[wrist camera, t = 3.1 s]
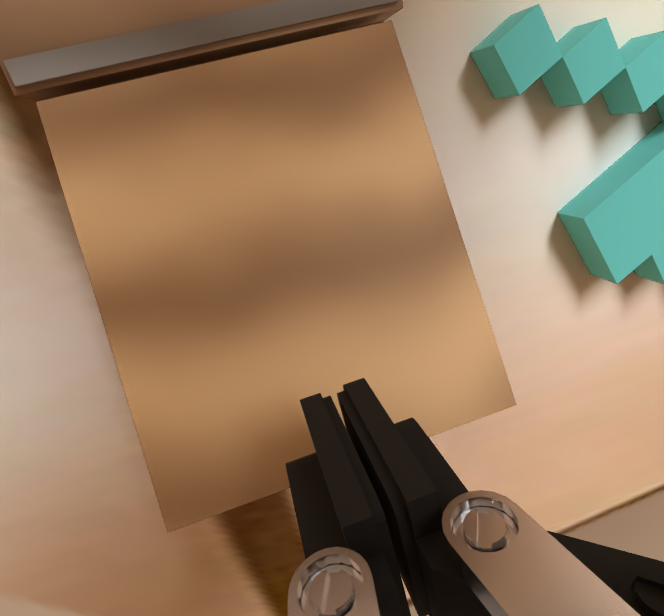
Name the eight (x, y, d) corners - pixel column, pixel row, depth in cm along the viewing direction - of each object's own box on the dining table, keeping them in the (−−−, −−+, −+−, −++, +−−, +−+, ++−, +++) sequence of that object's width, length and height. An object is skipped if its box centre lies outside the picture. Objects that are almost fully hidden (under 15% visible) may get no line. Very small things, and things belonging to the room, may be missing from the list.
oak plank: (66, 131, 16) (35, 102, 14) (378, 56, 17) (391, 20, 15) (181, 507, 16) (167, 532, 14) (488, 396, 17) (516, 404, 15)
